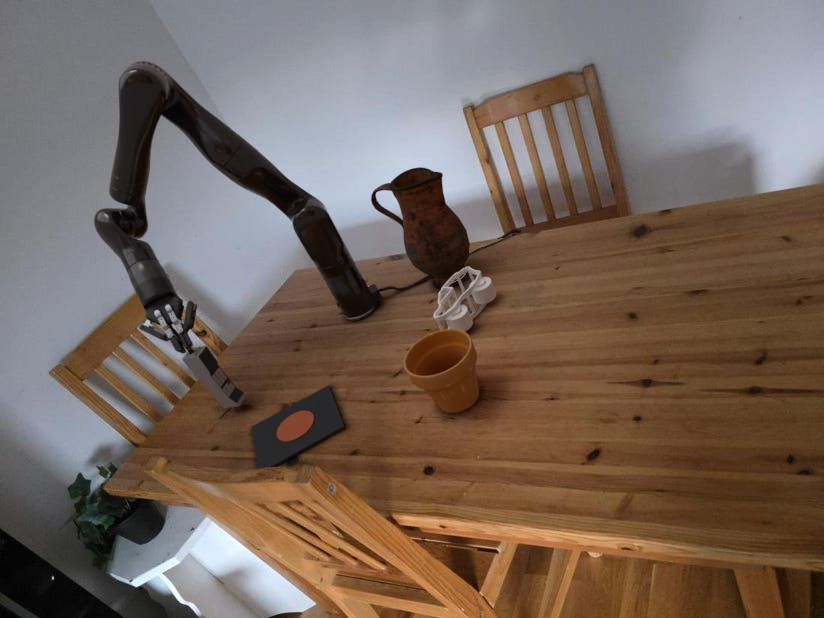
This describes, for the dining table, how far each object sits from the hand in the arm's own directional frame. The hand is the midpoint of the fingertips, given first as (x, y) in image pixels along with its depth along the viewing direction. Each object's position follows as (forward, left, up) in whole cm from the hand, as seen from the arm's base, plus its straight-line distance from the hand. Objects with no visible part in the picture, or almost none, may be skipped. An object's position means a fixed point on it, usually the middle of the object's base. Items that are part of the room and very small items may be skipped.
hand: (186, 350), depth 133 cm
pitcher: (-62, -12, -21) cm, 67 cm away
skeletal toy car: (-60, +9, -21) cm, 64 cm away
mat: (-13, +17, -21) cm, 30 cm away
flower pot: (-47, +35, -21) cm, 62 cm away
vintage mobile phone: (-1, -2, -19) cm, 19 cm away
